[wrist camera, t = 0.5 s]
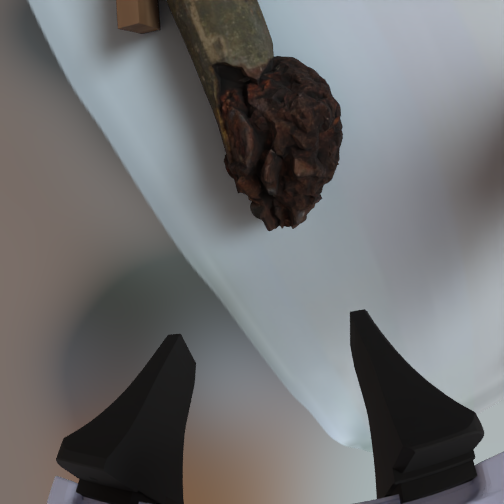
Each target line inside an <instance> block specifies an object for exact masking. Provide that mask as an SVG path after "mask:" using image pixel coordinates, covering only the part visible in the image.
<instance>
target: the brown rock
mask: <svg viewBox="0 0 504 504" xmlns="http://www.w3.org/2000/svg"><path fill="white" fill-rule="evenodd" d="M167 3H168V5H169V8H170V10H171V12H172V15H173V17H174V19H175V21H176V24H177V26H178V28H179V30H180V32H181V35H182V37H183V39H184V42H185V44H186V46H187V49H188V51H189V53H190V56H191V58H192V60H193V63H194V65H195V68H196V70H197V73H198V75H199V78H200V80H201V83H202V85H203V88H204V90H205V93H206V95H207V98H208V100H209V102H210V105H211V107H212V110H213V113H214V115H215V118H216V121H217V123H218V126H219V130H220V133H221V137H222V140H223V144H224V148H225V151H226V155H225V159H224V163H225V166H226V170H227V172H228V174H229V175H230V176H231V177H232V178H234V180H235V184H236V188H237V191H238V193H241V192H242V193H244V194H246V195H248V197H249V200H251V201H252V203H251V206H250V209H251V212H252V214H253V215H254V216H255V217H256V218H259V219H261V220H262V221H263V222H264V224H265V226H266V228H267V230H268V231H271V230H273V229H276V228H277V227H278V226H281V227H282V228H283V227H284V226H286V227H290V226H291V227H292V229H294V228H295V227H297V226H298V225H299V224H300V223H302V222H304V221H305V220H306V218H307V214H308V213H309V212H310V211H311V210H312V209H313V208H314V206H315V203H317V202H319V201H320V200H321V199H322V197H321V195H320V193H321V192H322V188H323V186H324V184H326V183H328V182H329V181H330V180H332V178H333V175H334V172H335V170H336V167H337V165H339V164H338V161H339V148H340V145H341V142H342V138H343V137H342V136H343V133H342V131H341V130H342V123H341V120H340V116H341V109H340V105H339V104H338V102H337V101H336V100H335V99H334V97H333V96H332V94H331V91H330V87H329V85H328V84H327V82H326V81H325V79H323V78H322V77H321V76H319V74H318V73H317V72H316V71H315V70H313V69H312V68H310V67H307V66H306V65H304V64H303V63H301V62H300V61H299V60H297V59H295V58H293V57H280V56H276V57H274V55H273V43H272V39H271V36H270V33H269V30H268V28H267V25H266V22H265V19H264V17H263V14H262V11H261V9H260V6H259V4H258V1H257V0H167Z"/></svg>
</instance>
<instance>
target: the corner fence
mask: <svg viewBox="0 0 504 504" xmlns="http://www.w3.org/2000/svg"><path fill="white" fill-rule="evenodd" d="M116 5H117V21H118V29H122V30H127V31H132V32H136V33H141V34H143V33H147V32H152V31H156V30H160V20H159V7H158V0H116Z"/></svg>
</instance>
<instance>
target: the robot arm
mask: <svg viewBox="0 0 504 504" xmlns="http://www.w3.org/2000/svg"><path fill="white" fill-rule="evenodd" d="M350 346H351V351H352V357H353V362H354V367H355V371H356V374H357V378H358V381H359V385H360V388H361V392H362V395H363V399H364V402H365V406H366V409H367V414H368V419H369V425H370V432H371V439H372V447H373V455H374V465H375V476H376V491H377V499H376V500H371V501H365V502H360V503H355V504H504V452H502V453H500V454H497V455H495V456H493V457H491V458H489V459H486V460H484V461H482V462H480V463H478V464H477V465H474V462H473V459H475V454H474V451H473V449H474V448H475V447H476V446H477V445H478V443H479V442H480V441H481V440H482V438H483V436H484V430H483V427H482V425H481V423H480V421H479V419H478V417H477V415H476V413H475V412H474V411H472V410H470V409H468V408H466V407H464V406H463V405H461V404H459V403H458V402H456V401H454V400H453V399H451V398H450V397H448V396H447V395H445V394H444V393H443V392H441V391H440V390H439V389H437V388H436V387H435V386H433V385H432V384H431V383H429V382H428V381H427V380H426V379H425V378H423V377H422V376H421V375H420V374H419V373H418V372H417V371H416V370H415V369H413V368H412V367H411V366H410V365H409V364H408V363H407V362H406V361H405V359H404V358H403V357H402V356H401V355H400V354H399V353H398V352H397V351H396V350H395V348H394V347H393V346H392V345H391V344H390V342H389V341H388V340H387V339H386V338H385V336H384V335H383V334H382V332H381V331H380V330H379V328H378V327H377V326H376V324H375V323H374V321H373V320H372V318H371V317H370V315H369V314H368V312H367V311H366V310H365V309H364V310H358V311H353V312H350ZM195 370H196V362H195V361H194V359H193V357H192V355H191V353H190V351H189V349H188V347H187V345H186V343H185V341H184V340H183V337H182V335H181V334H173V335H168V336H167V337H166V338H165V340H164V341H163V343H162V344H161V345H160V347H159V348H158V349H157V351H156V352H155V354H154V355H153V356H152V358H151V359H150V360H149V362H148V363H147V365H146V366H145V367H144V368H143V370H142V371H141V372H140V373H139V375H138V376H137V377H136V378H135V380H134V381H133V382H132V383H131V385H130V386H129V387H128V388H127V389H126V390H125V391H124V392H123V393H122V394H121V395H120V396H119V397H118V398H117V399H116V400H115V401H114V403H112V404H111V405H110V406H109V407H108V408H107V409H105V410H104V411H103V412H102V413H101V414H100V415H98V416H97V417H96V418H95V419H93V420H92V421H91V422H89V423H88V424H86V425H85V426H83V427H82V428H80V429H79V430H77V431H75V432H74V433H72V434H70V435H69V436H67V437H65V438H64V439H63V441H62V444H61V447H60V450H59V452H58V455H57V458H56V461H57V463H58V464H59V465H60V466H61V467H62V468H64V469H65V470H67V471H69V472H70V473H71V474H73V475H74V476H76V477H77V478H79V483H78V484H77V483H75V482H73V481H70V480H67V479H64V478H61V477H58V476H56V477H55V479H54V482H53V485H52V488H51V491H50V494H49V497H48V501H47V504H184V502H183V480H182V478H183V474H182V473H183V445H184V433H185V427H186V422H187V417H188V412H189V407H190V403H191V398H192V393H193V389H194V383H195Z"/></svg>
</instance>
